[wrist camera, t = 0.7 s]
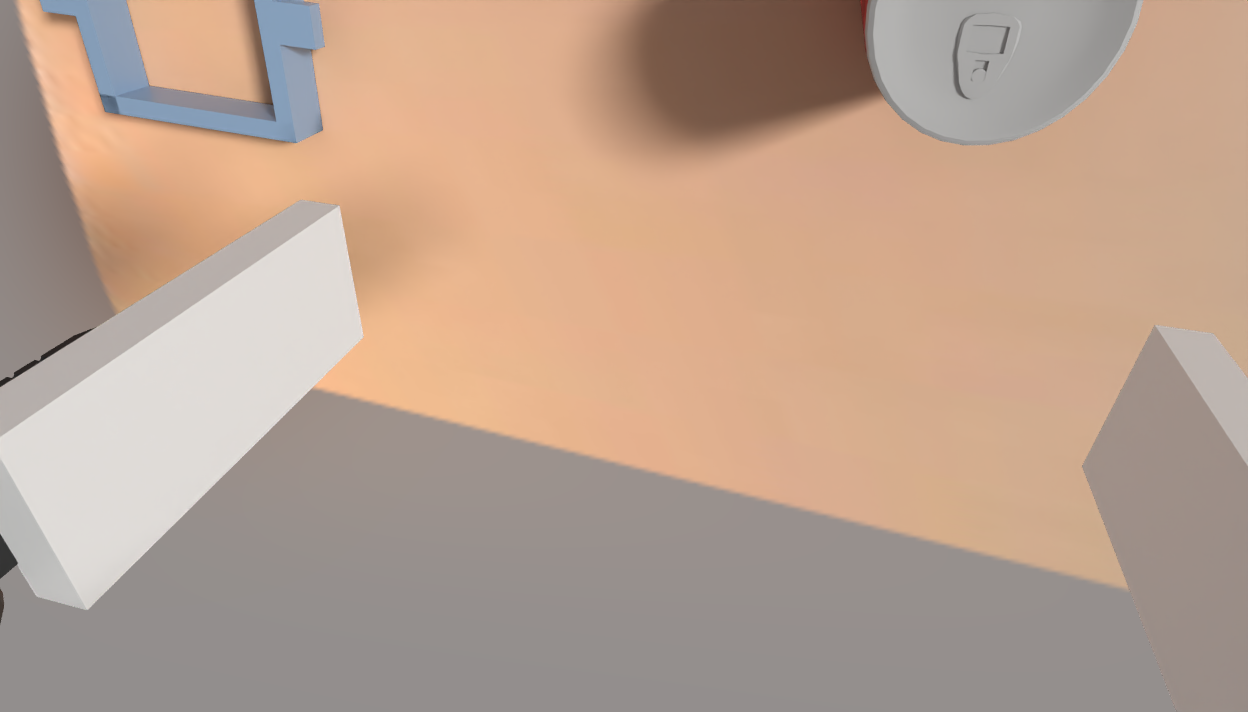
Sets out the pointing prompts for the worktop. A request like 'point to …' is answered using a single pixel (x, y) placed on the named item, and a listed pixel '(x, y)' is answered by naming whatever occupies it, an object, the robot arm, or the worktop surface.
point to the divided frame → (127, 92)
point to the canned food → (992, 61)
